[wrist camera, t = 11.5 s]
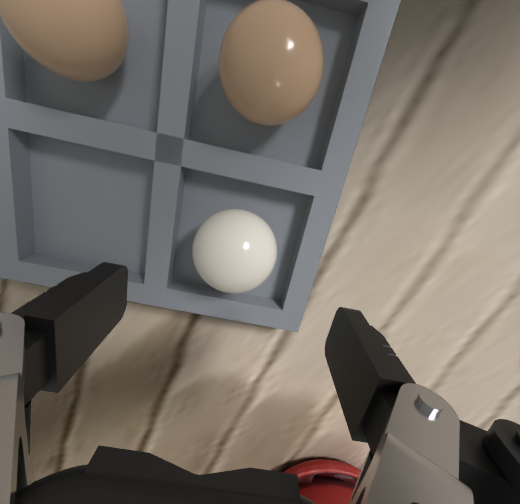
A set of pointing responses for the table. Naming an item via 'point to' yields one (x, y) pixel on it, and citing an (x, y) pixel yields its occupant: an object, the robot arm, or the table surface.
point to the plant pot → (326, 480)
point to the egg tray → (179, 158)
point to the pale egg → (234, 251)
